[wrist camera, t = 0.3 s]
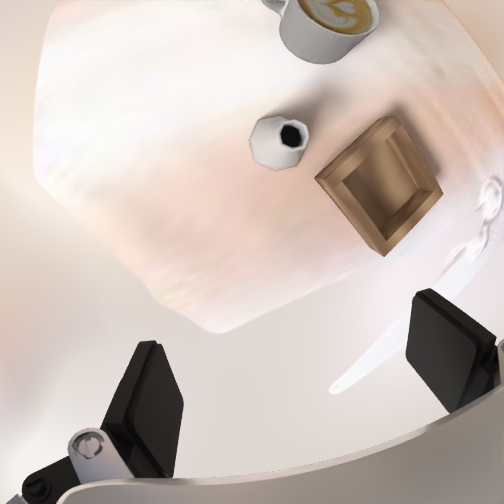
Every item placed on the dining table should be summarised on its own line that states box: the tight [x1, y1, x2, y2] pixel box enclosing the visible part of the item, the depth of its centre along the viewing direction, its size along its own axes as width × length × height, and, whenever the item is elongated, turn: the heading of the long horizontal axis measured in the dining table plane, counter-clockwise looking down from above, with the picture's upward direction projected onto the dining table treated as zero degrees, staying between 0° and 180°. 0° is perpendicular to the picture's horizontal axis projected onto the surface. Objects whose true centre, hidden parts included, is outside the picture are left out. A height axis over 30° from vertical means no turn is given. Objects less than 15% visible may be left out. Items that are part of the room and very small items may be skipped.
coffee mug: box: [262, 0, 379, 64], centre depth 25 cm, size 13×10×10 cm
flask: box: [249, 116, 310, 171], centre depth 30 cm, size 7×7×10 cm
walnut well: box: [314, 116, 443, 257], centre depth 35 cm, size 13×13×4 cm
